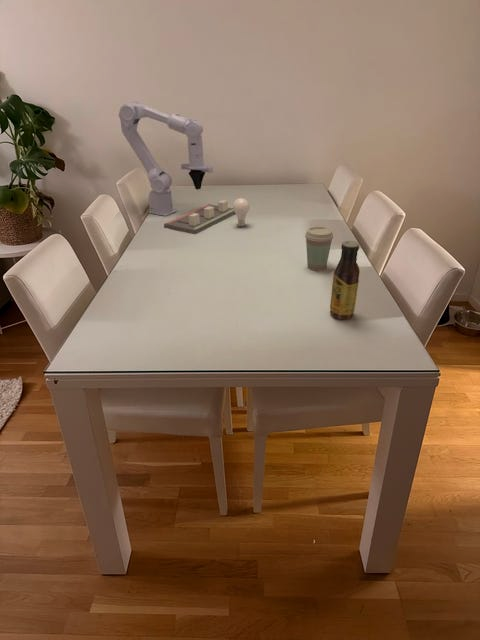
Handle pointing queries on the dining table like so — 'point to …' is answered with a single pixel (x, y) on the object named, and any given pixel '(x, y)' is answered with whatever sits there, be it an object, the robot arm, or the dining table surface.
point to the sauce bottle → (345, 282)
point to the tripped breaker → (194, 219)
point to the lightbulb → (241, 210)
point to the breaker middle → (209, 212)
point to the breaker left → (223, 206)
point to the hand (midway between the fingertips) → (198, 188)
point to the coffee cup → (318, 247)
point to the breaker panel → (205, 223)
